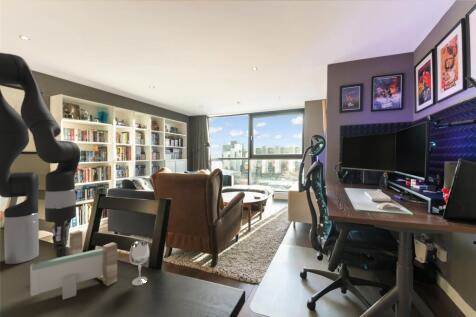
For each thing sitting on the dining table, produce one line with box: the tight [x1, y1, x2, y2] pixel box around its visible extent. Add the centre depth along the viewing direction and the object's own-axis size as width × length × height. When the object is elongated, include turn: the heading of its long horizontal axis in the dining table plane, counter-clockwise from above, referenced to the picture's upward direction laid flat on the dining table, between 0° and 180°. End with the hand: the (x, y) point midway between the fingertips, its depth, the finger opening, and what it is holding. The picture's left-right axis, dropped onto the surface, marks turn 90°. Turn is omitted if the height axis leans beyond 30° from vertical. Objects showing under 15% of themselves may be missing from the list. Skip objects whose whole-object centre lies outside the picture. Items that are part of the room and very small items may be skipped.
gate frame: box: [69, 230, 118, 287], centre depth 72 cm, size 24×3×12 cm, turn 61°
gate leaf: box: [29, 247, 103, 297], centre depth 63 cm, size 18×2×8 cm, turn 126°
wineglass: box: [129, 240, 150, 286], centre depth 68 cm, size 6×6×12 cm
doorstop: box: [61, 274, 77, 300], centre depth 61 cm, size 3×3×5 cm
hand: (61, 258), depth 67 cm, fingers closed
